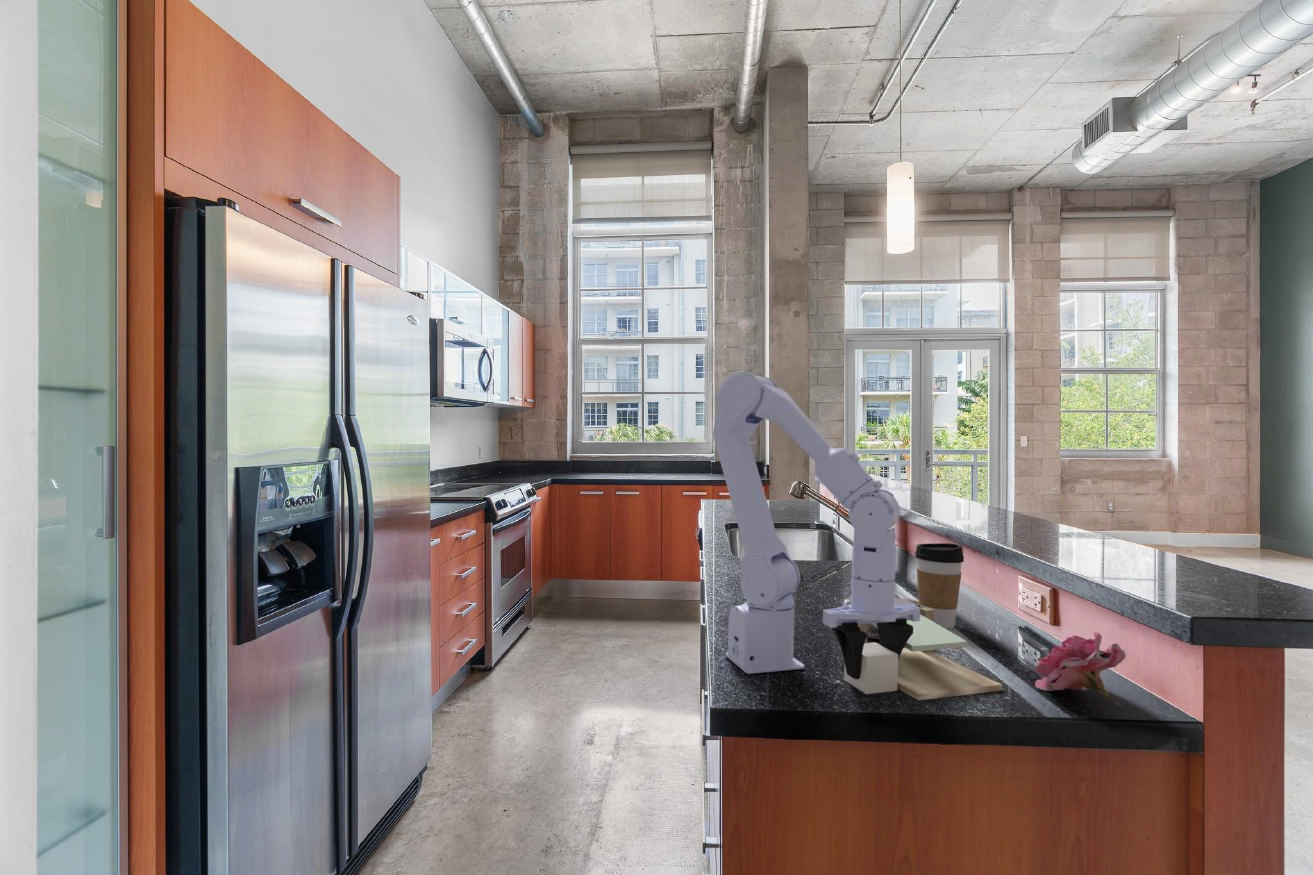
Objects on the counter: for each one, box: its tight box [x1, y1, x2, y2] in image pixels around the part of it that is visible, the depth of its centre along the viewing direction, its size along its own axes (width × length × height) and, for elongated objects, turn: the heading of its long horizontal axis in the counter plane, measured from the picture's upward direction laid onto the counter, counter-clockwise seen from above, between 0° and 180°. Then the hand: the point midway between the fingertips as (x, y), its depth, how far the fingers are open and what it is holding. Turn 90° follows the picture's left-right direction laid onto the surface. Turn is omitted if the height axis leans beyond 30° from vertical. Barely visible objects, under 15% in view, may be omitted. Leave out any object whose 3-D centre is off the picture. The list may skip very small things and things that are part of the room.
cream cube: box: [843, 641, 898, 695], centre depth 86 cm, size 5×5×5 cm
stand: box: [858, 607, 1003, 701], centre depth 91 cm, size 14×16×8 cm
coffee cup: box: [914, 542, 965, 630], centre depth 117 cm, size 8×8×15 cm
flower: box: [1034, 631, 1126, 707], centre depth 85 cm, size 11×10×10 cm
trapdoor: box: [867, 597, 968, 652], centre depth 94 cm, size 9×14×3 cm
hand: (870, 674), depth 86 cm, fingers closed on cream cube, 5 cm apart
